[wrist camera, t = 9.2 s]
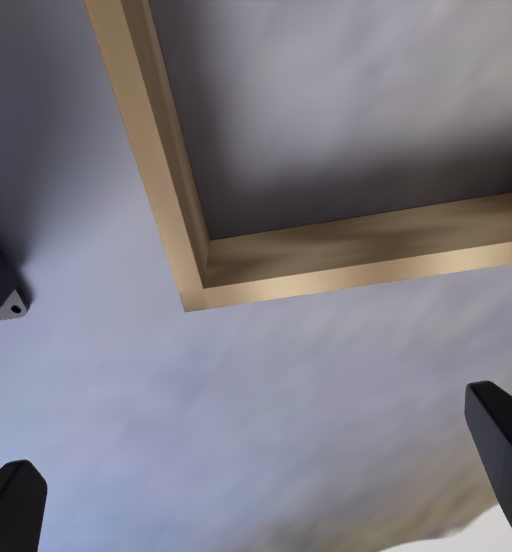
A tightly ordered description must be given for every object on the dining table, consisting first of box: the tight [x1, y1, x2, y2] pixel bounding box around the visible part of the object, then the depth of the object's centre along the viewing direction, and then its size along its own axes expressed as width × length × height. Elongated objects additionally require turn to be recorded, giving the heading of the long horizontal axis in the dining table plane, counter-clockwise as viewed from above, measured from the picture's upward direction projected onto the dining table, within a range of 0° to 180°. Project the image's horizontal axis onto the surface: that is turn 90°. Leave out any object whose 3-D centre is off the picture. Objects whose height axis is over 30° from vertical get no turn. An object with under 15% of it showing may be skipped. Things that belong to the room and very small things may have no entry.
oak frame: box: [84, 0, 512, 312], centre depth 16 cm, size 16×14×4 cm
